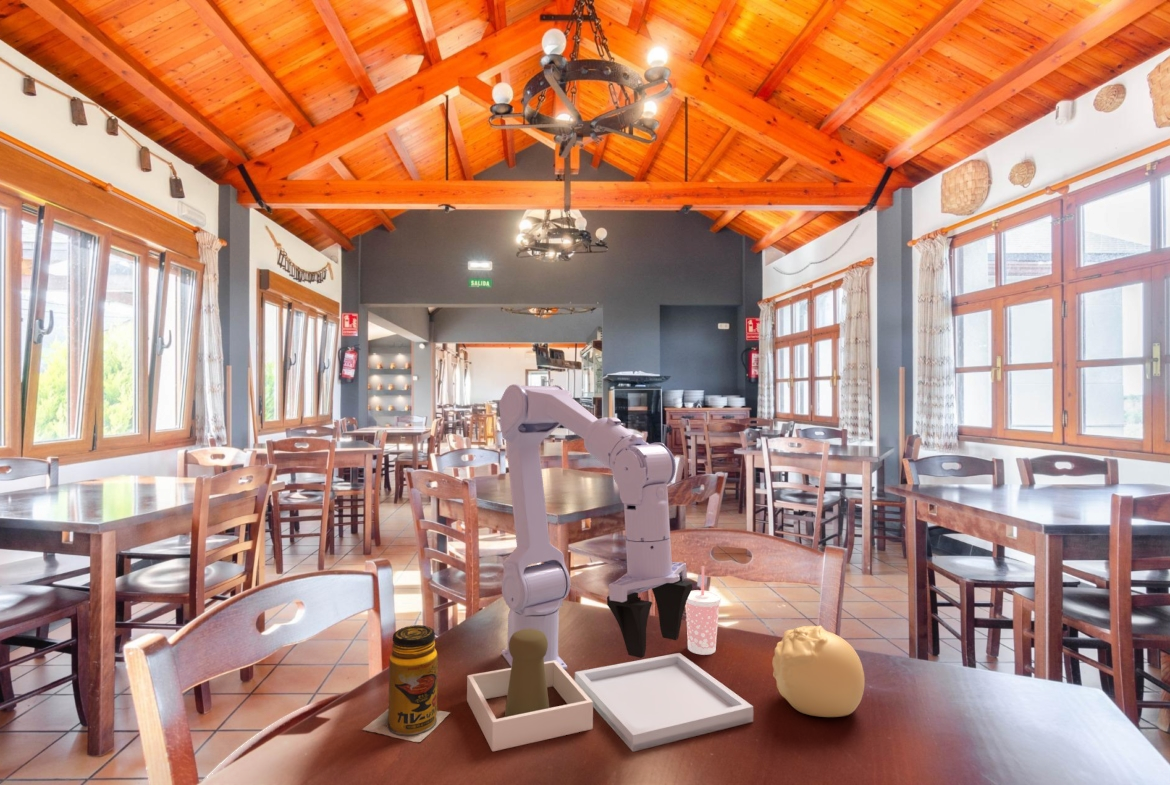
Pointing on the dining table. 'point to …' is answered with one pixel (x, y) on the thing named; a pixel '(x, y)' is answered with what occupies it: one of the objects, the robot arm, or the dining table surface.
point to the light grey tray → (662, 700)
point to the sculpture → (818, 672)
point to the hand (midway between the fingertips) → (653, 646)
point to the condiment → (411, 687)
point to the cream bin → (532, 723)
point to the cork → (527, 673)
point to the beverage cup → (702, 620)
